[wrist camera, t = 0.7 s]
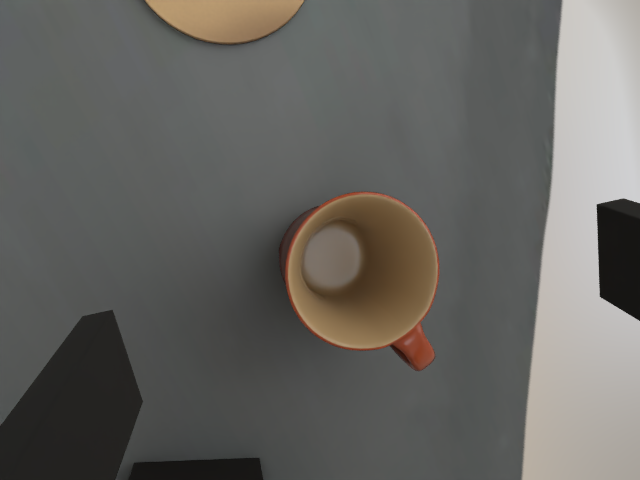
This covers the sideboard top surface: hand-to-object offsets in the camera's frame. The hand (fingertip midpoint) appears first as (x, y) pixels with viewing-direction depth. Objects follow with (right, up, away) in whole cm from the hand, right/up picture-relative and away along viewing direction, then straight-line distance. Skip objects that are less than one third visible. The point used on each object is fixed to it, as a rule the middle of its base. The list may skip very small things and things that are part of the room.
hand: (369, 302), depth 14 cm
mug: (0, -1, +25) cm, 25 cm away
